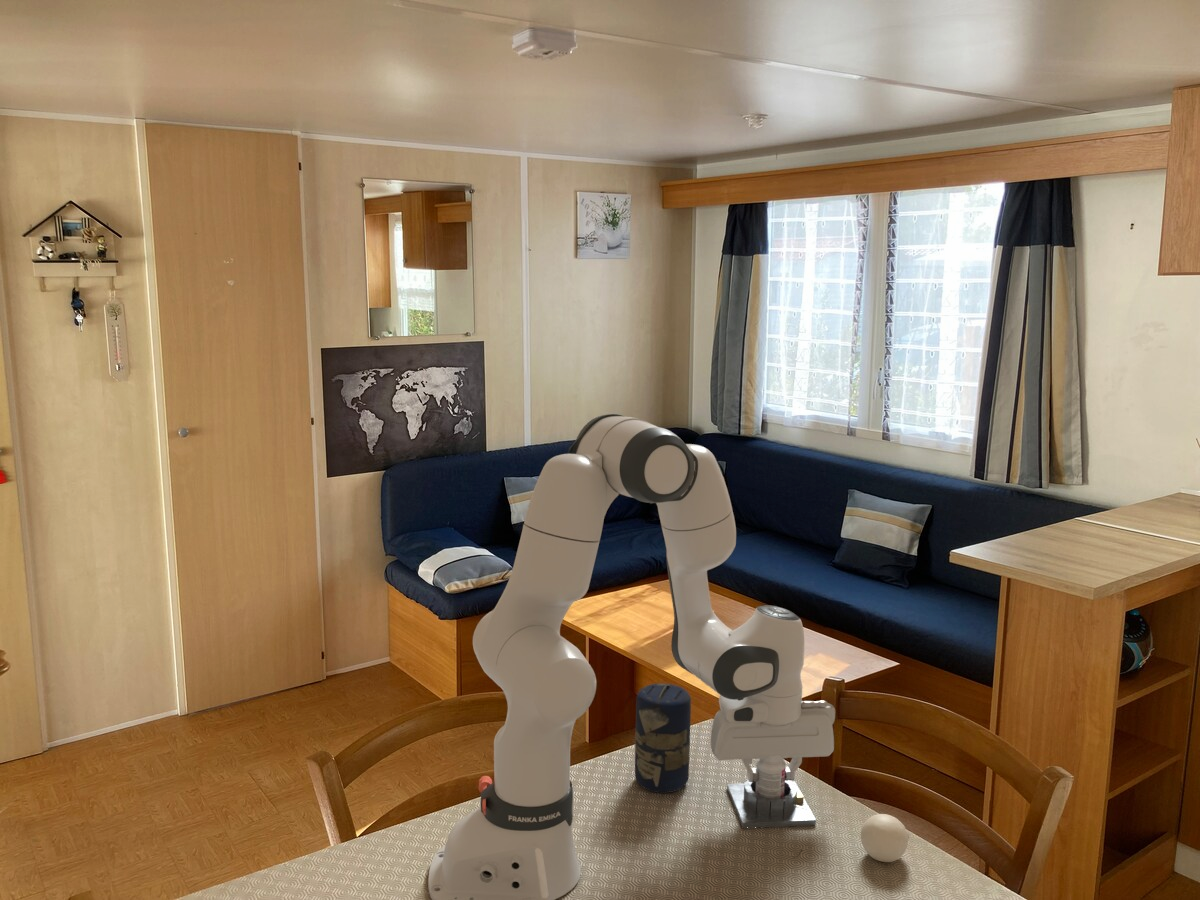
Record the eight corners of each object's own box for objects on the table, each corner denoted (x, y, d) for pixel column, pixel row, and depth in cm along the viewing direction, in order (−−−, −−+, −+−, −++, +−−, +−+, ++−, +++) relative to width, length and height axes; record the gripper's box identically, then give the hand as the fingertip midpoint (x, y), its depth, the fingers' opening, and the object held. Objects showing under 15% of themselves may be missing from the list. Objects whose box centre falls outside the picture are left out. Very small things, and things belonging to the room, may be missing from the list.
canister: (624, 785, 168) (625, 689, 165) (652, 763, 176) (654, 670, 172) (671, 803, 163) (673, 704, 159) (698, 779, 171) (701, 684, 167)
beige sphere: (917, 860, 148) (920, 821, 146) (884, 876, 144) (887, 835, 143) (883, 838, 153) (886, 800, 152) (850, 853, 150) (853, 813, 148)
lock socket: (742, 828, 156) (743, 809, 155) (727, 789, 167) (727, 770, 167) (815, 825, 157) (816, 805, 156) (794, 786, 168) (795, 767, 168)
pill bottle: (786, 804, 159) (789, 757, 158) (758, 804, 159) (760, 757, 157) (780, 788, 164) (782, 743, 162) (752, 789, 164) (754, 743, 162)
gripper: (829, 692, 162) (825, 767, 165) (709, 695, 161) (707, 771, 163) (842, 709, 156) (837, 787, 159) (717, 712, 154) (714, 791, 157)
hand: (770, 779), depth 161 cm, fingers closed on pill bottle, 5 cm apart
